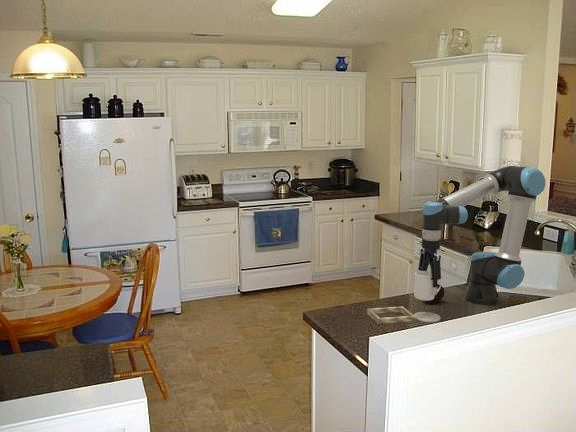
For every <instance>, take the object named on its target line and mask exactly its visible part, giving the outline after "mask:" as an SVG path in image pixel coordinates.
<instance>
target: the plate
mask: <svg viewBox="0 0 576 432" xmlns="http://www.w3.org/2000/svg"><path fill="white" fill-rule="evenodd" d="M413 315H415V316H416V321H419V322H423V323H430V324H431V323H437V322H440V321H441V316H440V315H439V314H437V313H434V312H429V311H419V312H415V313H413Z"/></svg>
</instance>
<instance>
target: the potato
mask: <svg viewBox="0 0 576 432" xmlns="http://www.w3.org/2000/svg"><path fill="white" fill-rule="evenodd" d="M439 287H440V283H437V289H438V288H439ZM445 293H446V291H445V288H444V287H443V285H441V287H440V290H439V291H438V292H437V294H436V295H435V297H434V299H433V300H428V301H426V302H427V303H437V302H440V301H441V300H442V299H444V296H445Z"/></svg>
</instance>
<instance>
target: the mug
mask: <svg viewBox="0 0 576 432" xmlns="http://www.w3.org/2000/svg"><path fill="white" fill-rule="evenodd" d="M431 278H432V275H431V270H430V271H429V270H427V271H420V270H418V271H415V272H414V285H413V286H414V287H413V288H414V289H413V295H414V298H415V299H417V300H420V301H425V302H427V301H428V300H433V299H434V297H435V295H430V285H431ZM438 282H439V285H440V287H441V286H442V281H441V279H438ZM440 287H439V288H438V289H437V292H438V291H439V290H440Z"/></svg>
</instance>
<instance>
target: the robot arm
mask: <svg viewBox="0 0 576 432" xmlns="http://www.w3.org/2000/svg"><path fill="white" fill-rule="evenodd" d="M545 187H546V178H545V175H544V173H543V172H542V171H541V170H540V169H538V168H536V167H535V168H534V167H531V166H519V165H507V166H503V167H500V168H498V169H496V170H494V171H492V172H490V173H487V174H485V175H484V177H483V178H482V179H480V180H478V181H475V182H474V183H472V184H470V185H467V186H465V187H463V188H461V189H459V190H456V191H455V192H452V193H450V194H449V195H447V196H444V197H442V198H440V199H437V200H436V201H433V200H432V201H431V200H429V201H426V202H425V203H424V204H423V206H422V217H423V218H422V231H421V234H422V235H421V237H422V239H421V248H420V256H419V263H418V271H428V268H430V272H431V275H432V278H431V285H430V295H436V294H437V284H438V282H439V281H438V279H440V280H441V279H442V274H441V273H442V272H441V270H442V269H441V259H442V256H441V255H438V250H439V249H440V248H441V238H442V237H441V236H442V226H444V225H460V224H461V225H462V224H465V223H466V222H467V220H468V216H469V215H468V210H467V209H466V207H465V206H467V205H470V204H471V203H474V202H476V201H478V200H480V199H482V198H485V197H486V196H488V195H491V194H492V195H493V194H495V195H496V194H498V193H501V192H508V193H507V196H508V197H509V199H510V200H509V204H508V205H509V206H508V208H507V209H508V210H507V213H506V219H505V222H504V227H503V230H502V231H503V232H502V236H501V240H500V244H499V249H498V251H497V252H492V251H478V252H474V253H472V254H471V258H470V269H469V270H470V272H469V283H468V285H467V288H466V290H465V293H464V299H465V300H466V301H468V302H470V303H472V304H478V305H486V306H487V305H488V306H489V305H490V304H491V305H495V304H498V303H499V302H500V301H499V299H500V298H499V293H498V290H497V286H498V287H500V288H503V289H507V290H512V289H515V288H517V287H518V286H520V285H521V284H522V282H523V280H524V278H525V270H524V268H523V266H522V265H521V264H522V259H521V257H520V253H521V249H522V244H523V239H524V236H525V231H526V227H527V222H528V217H529V215H530V214H529V213H530V209H531V205H532V203H534V202H535V201H536V200H537V196H540V195H541V194H542V193H543V192H544V191H545Z"/></svg>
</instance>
